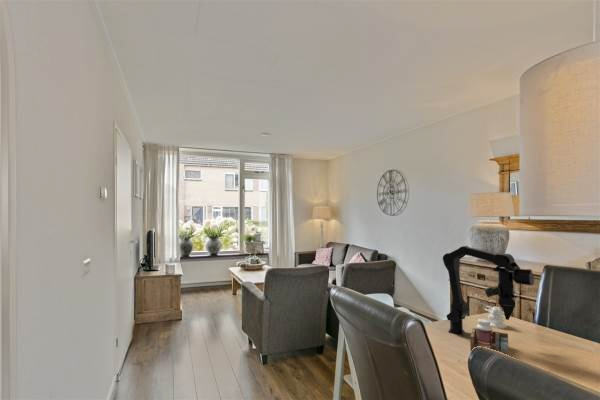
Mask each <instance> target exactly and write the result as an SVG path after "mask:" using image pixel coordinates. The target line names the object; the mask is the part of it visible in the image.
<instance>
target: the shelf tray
mask: <svg viewBox="0 0 600 400" xmlns="http://www.w3.org/2000/svg"><path fill="white" fill-rule="evenodd" d="M470 332H471V333H470V337H469V340H470V341H469V342H470V351H473V350H472V349H473V348H474V347H477V346H479V345H478V344H477V328H474V327H473V328H471V331H470ZM492 334H493V347H492V348H490V349H493V350H496V351H499V352H502V353H504V354H507V355H509V333H506V332H499V331H494V330H492Z"/></svg>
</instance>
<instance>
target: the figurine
mask: <svg viewBox="0 0 600 400" xmlns="http://www.w3.org/2000/svg"><path fill="white" fill-rule="evenodd" d="M485 307H486V308H484V311H486V312H488V314H487V317H486V320H489V321H490V326H491V327H492V328H495V329H505V328H507V325H506V323H505V322H504V321H505V320H506V318H504V316H503V315H505V314H504V311H503V308H502V307H501V306H491V305H486V306H485Z"/></svg>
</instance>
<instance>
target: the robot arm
mask: <svg viewBox="0 0 600 400" xmlns="http://www.w3.org/2000/svg"><path fill="white" fill-rule="evenodd" d="M465 256H469V257H472V258H477V259H479V260H480V259H481V260H484V261H487V262H490V263H491V264H493V265H495V268H494V269H492V271H493V272H498V273H497V274H498V283H497V286H490V287H486V288H484V292H485V295H486V297H487V298H491V297H493V296H498V298H497V304H498V305H499V307H500V308H501V309H502V311H503V312H504V314H503V315H504V317H505V318H504V319H505V320H507V321H509V320H510V318H511V316H512V314H513V311H514V309H515V308H516V300H515V293H514V292H515V290H514V289H515V284H514V282H515V283H516V284H517V285H524V286H534V282H535V277H534V274H533V270H532V269H530V268H528V269H525V268H521V267H520V266H519V265H518V263H517V262H516V261H515V258H514V257H513V255H512V254H510V253H501V252H490V251H486V250H482V249H478V248H474V247H470V246H468V245H462V246H460V247H459V248H456V249H455V250H453V251H451V252H447V253H445V254H444V255H443V256H442V262H443V264H444V267H445V269H447V271H448V272H447V273H448V279H449V285H450V291H451V296H452V302H451V305H450V307H451V308H450V309H451V311H450V312H449V313H448V314H446V319H447V320H448V321H449V329H448V333H450V332H451V334H458V335H464V332H465V330H464V329H463V320H464V319H466V317H467V316H468V315H469V314H470V313H469V312H470V308H469V302H468V301H467V302H466V301H465V300H464V296H463V291H462V290H463V289H462V284H461V278H460V273H459V268H460V266H461V265H460V264H461V263H460V262H461V259H463V258H464V257H465Z"/></svg>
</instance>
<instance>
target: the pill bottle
mask: <svg viewBox="0 0 600 400" xmlns="http://www.w3.org/2000/svg"><path fill="white" fill-rule="evenodd" d="M477 323H478V324H477V325H476V329H477V344H478V345H479V346H481V347H487V348H492V347H493V334H492V331H493V327H491V326H490V319H487V318H478V319H477Z"/></svg>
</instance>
